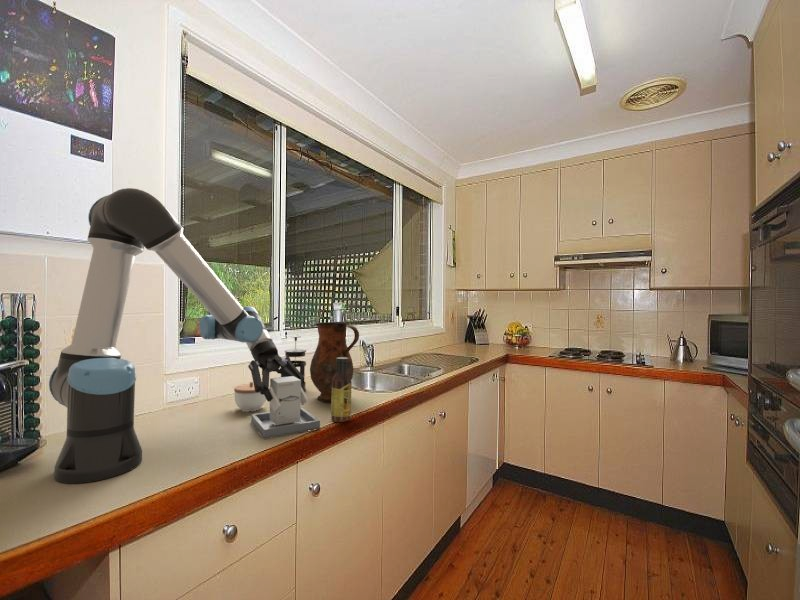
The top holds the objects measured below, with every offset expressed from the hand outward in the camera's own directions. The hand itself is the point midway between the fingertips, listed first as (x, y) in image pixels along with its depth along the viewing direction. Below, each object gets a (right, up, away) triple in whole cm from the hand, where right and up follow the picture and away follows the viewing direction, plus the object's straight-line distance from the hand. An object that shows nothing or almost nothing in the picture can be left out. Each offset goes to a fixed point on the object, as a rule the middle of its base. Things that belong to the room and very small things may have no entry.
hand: (291, 405), depth 112 cm
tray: (-3, -7, +2) cm, 7 cm away
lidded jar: (-19, -7, +18) cm, 28 cm away
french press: (-12, -7, +46) cm, 48 cm away
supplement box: (-3, -5, +2) cm, 6 cm away
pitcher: (+7, -7, +32) cm, 34 cm away
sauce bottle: (+13, -7, +9) cm, 17 cm away
